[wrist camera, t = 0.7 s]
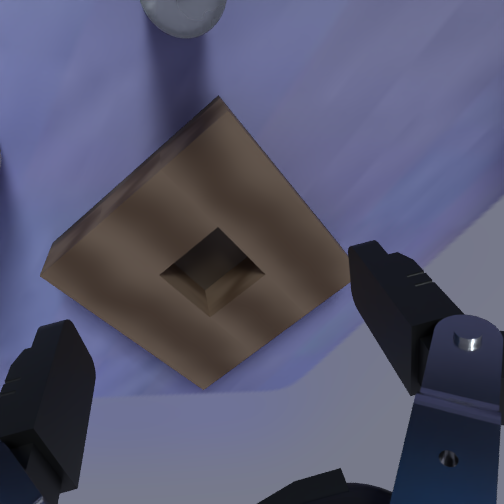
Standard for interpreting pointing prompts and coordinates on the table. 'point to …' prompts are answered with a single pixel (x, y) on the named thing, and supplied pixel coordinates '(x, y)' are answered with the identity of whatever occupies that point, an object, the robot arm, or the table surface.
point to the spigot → (184, 16)
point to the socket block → (200, 251)
